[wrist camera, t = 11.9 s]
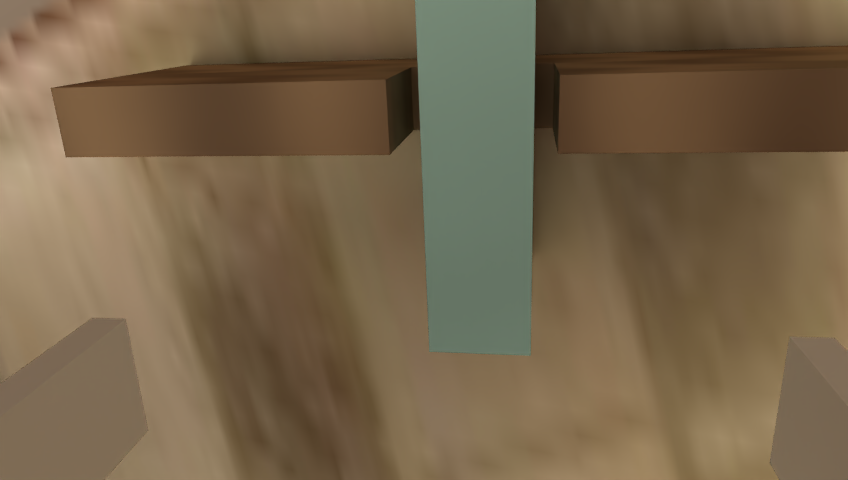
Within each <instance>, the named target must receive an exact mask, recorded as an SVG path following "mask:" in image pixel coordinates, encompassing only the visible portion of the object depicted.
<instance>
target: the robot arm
mask: <svg viewBox="0 0 848 480" xmlns="http://www.w3.org/2000/svg"><path fill="white" fill-rule="evenodd" d="M147 431H148V427H147V422H146V417H145V412H144V407H143V402H142V397H141V392H140V387H139V382H138V377H137V372H136V367H135V362H134V357H133V352H132V347H131V342H130V338H129V333H128V328H127V323H126V319H114V318H92V319H90V320H89V321H87V322H86V323H85V324H83V325H82V326H80V327H79V328H78V329H76V330H75V331H73V332H72V333H71V334H69V335H68V336H66V337H65V338H64V339H62V340H61V341H59V342H58V343H57V344H55V345H54V346H52V347H51V348H50V349H48V350H47V351H46V352H44V353H43V354H41V355H40V356H39V357H37V358H36V359H34V360H33V361H32V362H30V363H29V364H27V365H26V366H25V367H23V368H22V369H20V370H19V371H18V372H16V373H15V374H13V375H12V376H11V377H9V378H8V379H6V380H5V381H4V382H2V383H1V384H0V480H105V478H106V477H107V476H108V475H109V474H110V473H111V472H112V471H113V469H114V468H115V467H116V466H117V465H118V464H119V463H120V462H121V460H122V459H123V458H124V457H125V456H126V455H127V454H128V452H129V451H130V450H131V449H132V448H133V447H134V446H135V445H136V443H137V442H138V441H139V440H140V439H141V438H142V437H143V436H144V434H145V433H146V432H147ZM770 464H771V466H772V467H773V469H774V471H775V473H776V475H777V476H778V478H779V480H848V351H847V350H846V349H845V348H844V347H843V346H842V345H841V344H840V343H839V342H838V341H837V340H836V339H835V338H823V337H789V343H788V350H787V356H786V362H785V369H784V375H783V381H782V388H781V394H780V401H779V407H778V413H777V420H776V426H775V433H774V439H773V445H772V452H771V458H770Z"/></svg>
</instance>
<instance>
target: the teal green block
mask: <svg viewBox="0 0 848 480" xmlns="http://www.w3.org/2000/svg"><path fill="white" fill-rule="evenodd" d="M415 13H416V37H417V61H418V86H419V110H420V135H421V159H422V183H423V208H424V232H425V256H426V281H427V305H428V329H429V352H448V353H474V354H500V355H526V356H531V295H532V229H533V163H534V96H535V30H536V0H415Z"/></svg>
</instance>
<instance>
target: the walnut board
mask: <svg viewBox="0 0 848 480" xmlns="http://www.w3.org/2000/svg"><path fill="white" fill-rule="evenodd" d="M51 91H52V96H53V100H54V105H55V110H56V114H57V119H58V123H59V128H60V132H61V137H62V142H63V146H64V151H65V155H66V157H151V156H290V155H390V154H391V153H392V152H393V151H394V150H395V149H396V148H397V147H398V146H399V145H400V143H401V142H402V141H403V140H404V139H405V138H406V137H407V136H408V135H409V134H410V133H411V132H412V131H413V130H420V110H419V86H418V61H417V59H390V60H356V61H322V62H289V63H255V64H222V65H188V66H181V67H175V68H169V69H163V70H157V71H151V72H145V73H139V74H133V75H126V76H120V77H114V78H108V79H102V80H96V81H90V82H84V83H78V84H72V85H66V86H60V87H54V88H51ZM534 128H553V131H554V136H555V141H556V146H557V151H558V154H568V153H706V152H845V151H848V46H826V47H792V48H759V49H725V50H692V51H658V52H624V53H591V54H557V55H535V96H534Z"/></svg>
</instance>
